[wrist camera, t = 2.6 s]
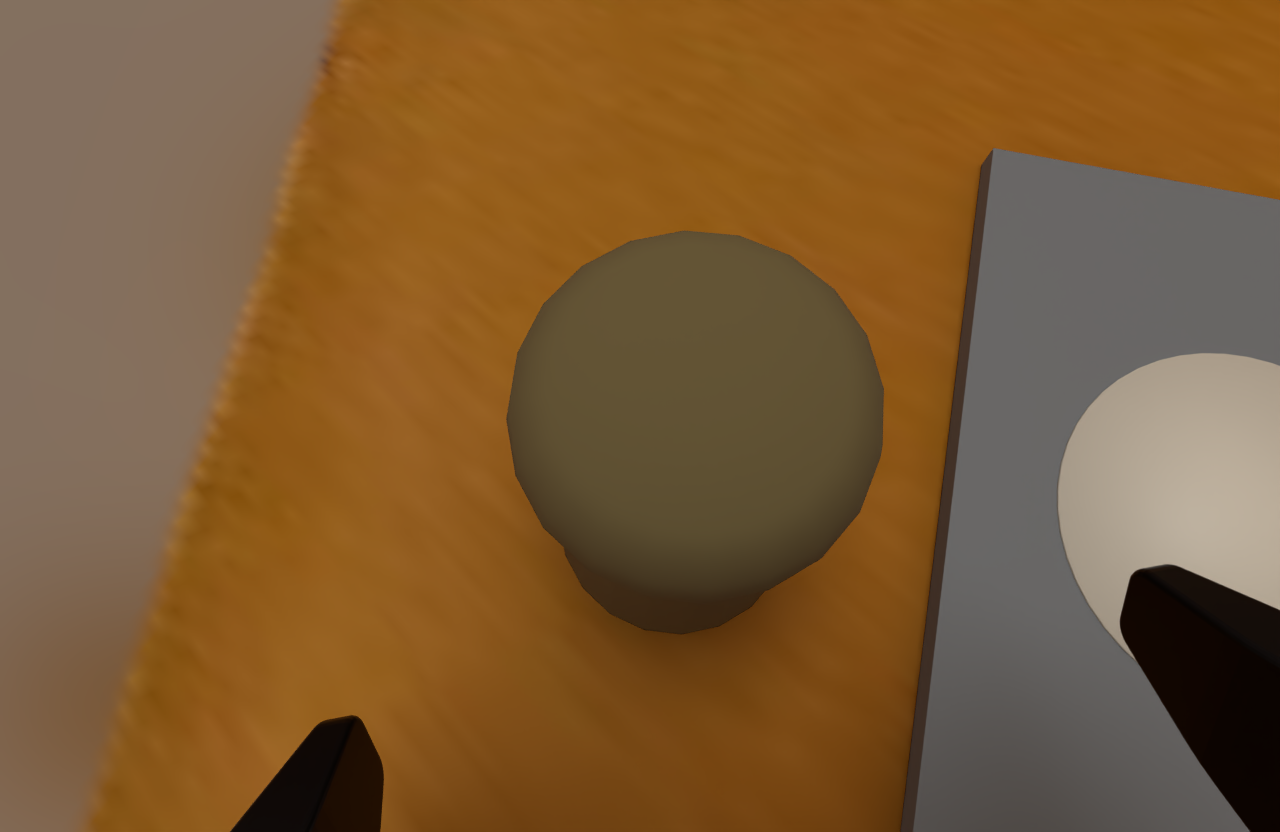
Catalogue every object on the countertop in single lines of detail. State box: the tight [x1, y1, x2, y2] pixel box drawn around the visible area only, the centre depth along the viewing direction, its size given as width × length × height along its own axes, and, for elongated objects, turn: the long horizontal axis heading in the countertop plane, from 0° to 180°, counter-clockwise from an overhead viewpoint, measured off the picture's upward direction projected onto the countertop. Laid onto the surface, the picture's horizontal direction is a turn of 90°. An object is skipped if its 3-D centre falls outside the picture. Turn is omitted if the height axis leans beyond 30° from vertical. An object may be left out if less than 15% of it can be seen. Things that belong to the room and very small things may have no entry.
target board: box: [901, 148, 1280, 832], centre depth 19 cm, size 19×14×1 cm
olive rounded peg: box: [506, 231, 884, 634], centre depth 14 cm, size 6×6×11 cm
